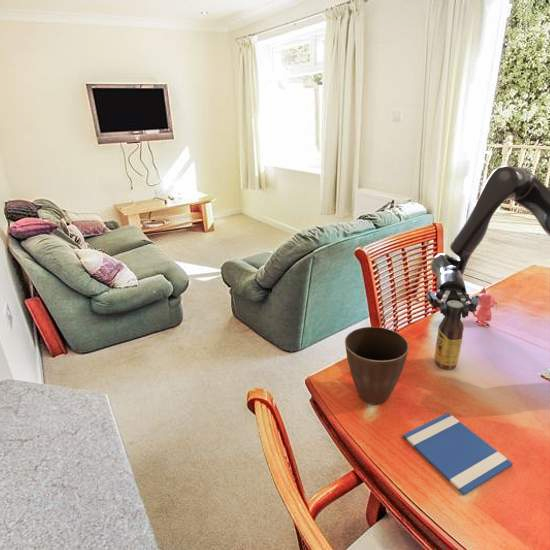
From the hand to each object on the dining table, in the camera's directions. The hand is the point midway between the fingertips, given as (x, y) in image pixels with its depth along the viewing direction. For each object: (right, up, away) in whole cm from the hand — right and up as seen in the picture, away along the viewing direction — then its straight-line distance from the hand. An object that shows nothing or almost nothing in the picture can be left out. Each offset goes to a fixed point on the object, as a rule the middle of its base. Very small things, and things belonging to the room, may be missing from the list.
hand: (454, 313), depth 97 cm
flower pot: (-22, -21, 0) cm, 30 cm away
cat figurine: (+23, -6, +29) cm, 37 cm away
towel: (-8, -28, -17) cm, 34 cm away
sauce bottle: (+2, -16, +9) cm, 18 cm away
